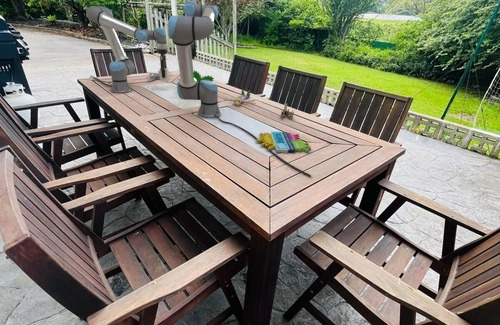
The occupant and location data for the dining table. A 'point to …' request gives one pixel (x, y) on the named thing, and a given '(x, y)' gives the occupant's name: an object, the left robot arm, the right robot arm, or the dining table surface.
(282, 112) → the jawbone
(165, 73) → the block
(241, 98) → the toy
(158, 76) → the airplane
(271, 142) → the sign
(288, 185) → the dining table surface
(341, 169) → the dining table surface
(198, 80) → the ornament
